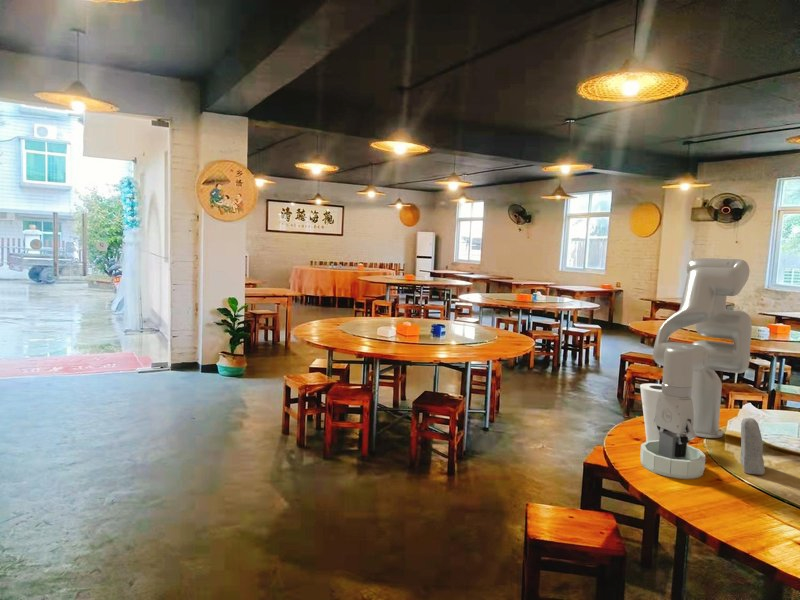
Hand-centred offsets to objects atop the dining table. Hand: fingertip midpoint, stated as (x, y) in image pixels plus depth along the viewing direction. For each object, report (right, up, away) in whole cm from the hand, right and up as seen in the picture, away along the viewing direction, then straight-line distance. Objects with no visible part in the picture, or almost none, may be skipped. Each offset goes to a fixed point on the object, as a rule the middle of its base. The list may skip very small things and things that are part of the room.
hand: (672, 452), depth 155 cm
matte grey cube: (0, -1, 0) cm, 1 cm away
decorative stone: (+23, -5, +1) cm, 23 cm away
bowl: (0, -4, 0) cm, 4 cm away
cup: (+5, -3, +20) cm, 21 cm away
